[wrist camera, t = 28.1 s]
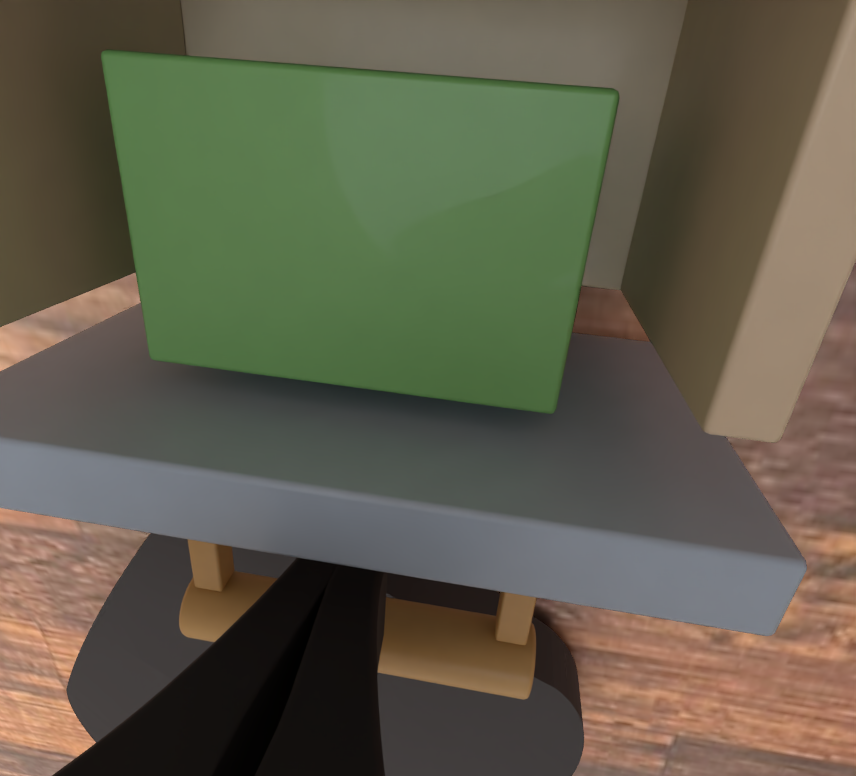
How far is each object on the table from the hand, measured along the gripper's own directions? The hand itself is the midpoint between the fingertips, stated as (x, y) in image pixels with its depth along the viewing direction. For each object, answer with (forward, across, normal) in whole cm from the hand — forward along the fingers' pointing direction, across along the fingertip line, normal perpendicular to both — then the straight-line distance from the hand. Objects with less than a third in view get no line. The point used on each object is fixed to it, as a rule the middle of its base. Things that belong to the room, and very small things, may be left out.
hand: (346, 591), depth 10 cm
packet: (+4, 0, -6) cm, 7 cm away
